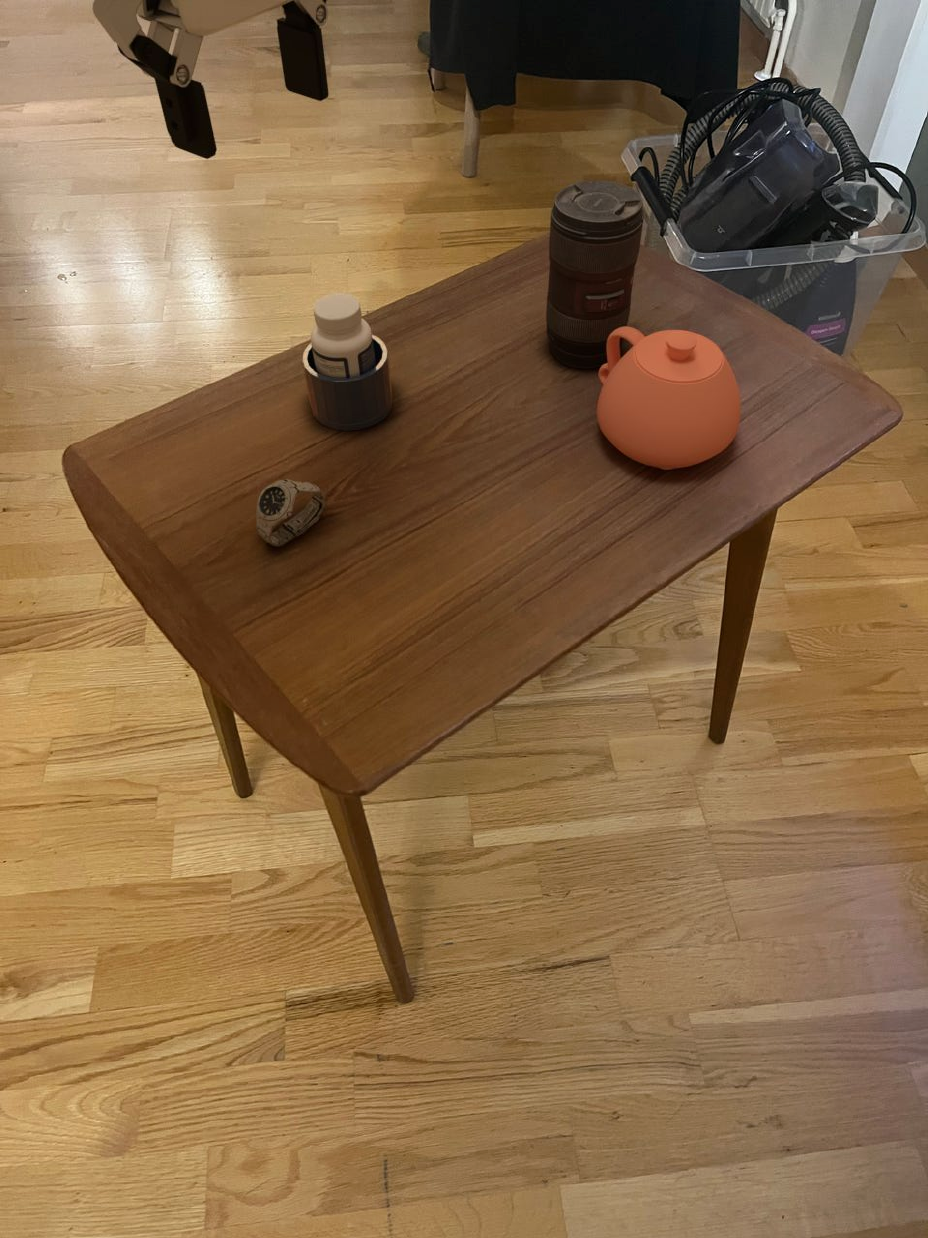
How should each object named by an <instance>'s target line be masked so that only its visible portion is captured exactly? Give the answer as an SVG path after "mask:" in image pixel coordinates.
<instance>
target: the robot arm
mask: <svg viewBox="0 0 928 1238" xmlns="http://www.w3.org/2000/svg"><path fill="white" fill-rule="evenodd" d="M327 1H328V0H94V1H93V3H92V12H93V15H94V16H95V18H96V19H97V21H98V22H99V23H100V25H101V26H102V28H103V29H104V31H105V32H106V33H107V34H108V36H109V37H110V39H111V40H112V41H113V42H114V43H116V46H117V49H118V52H119V53H120V55H122V56H123V57H124V58H126V59H127V60H129V62H130V63H133V64H134V65H135V66H137V67H138V68H139V69H141V71H142V73H143V74H144V75H146V76H148V77H150V78H153V79H154V82H155V86H156V90H157V95H158V99H159V103H160V106H161V110H162V114H163V118H164V122H165V126H166V130H167V134H168V135H169V137H170V140H171V142H172V144H173V146H174V147H175V148H177V149H179V150H182V151H184V152H187V153H189V154H192V155H195V156H198V157H200V158H203V159H206V160H209V159H210V158H213V157H215V156H216V154H217V144H216V138H215V133H214V129H213V125H212V120H211V116H210V111H209V105H208V101H207V96H206V92H205V87H204V85H203V84H202V82H200V81H197V80H195V79H193V75H194V72H195V69H196V68H195V67H196V64H197V61H198V58H199V54H200V50H201V47H202V44H203V40H204V37H208V36H212V35H214V34H216V33H220V32H222V31H224V30H228V29H230V28H233V27H235V26H237V25H239V24H241V23H242V24H243V23H245V22H247V21H249V20H251V19H254V18H256V17H259V16H261V15H263V14H266V13H268V12H271V11H273V10H275V9H277V8H278V9H279V11H280V12H281V13H282V14H283V16H284V17H279V18H278V19H276V24H277V25H276V30H277V38H278V45H279V51H280V58H281V65H282V73H283V78H284V79H283V80H284V86H285V89H286V91H288V92H291V93H294V94H297V95H299V96H302V97H306V98H309V99H313V100H315V101H318V102H322V101H324V100H326V99H328V98H329V94H330V93H329V84H328V75H327V67H326V59H325V49H324V40H323V33H322V28H321V27H322V26H324V25H325V24H326V23H327V20H328V17H329V9H328V6H327V5H326V4H327ZM138 17H139V18H140V19H142V20H145V21H146V22H150V23H149V26H148V30H147V34H146V33H145V32H144V31H143V30H142V29H143V27H142V26H141V24H140V22H139V21H138ZM175 33H176V34H177V35H176V39H175V43H174V46H173V50H172V53H171V52H170V49H171V45H172V41H173V38H174V34H175Z"/></svg>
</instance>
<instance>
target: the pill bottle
mask: <svg viewBox="0 0 928 1238" xmlns="http://www.w3.org/2000/svg"><path fill="white" fill-rule="evenodd" d="M361 308H362V307H361V303H360V300H359V299H358V298H357V297H356V296H355V295H353V294H350V293H344V292H335V293H334V292H333V293H329V294H325V295H324V296H322V297H320V298H318V299H317V301H315V303H314V305H313V315H314V322H315V324H314V326H313V327H312V329H311V332H310V343H311V344H312V350H313V355H314V361H315V366H316V371H317V373H319V374H321V375H323V376H326V377H331V378H351V377H356V376H360V375H362V374H365V373H367V372H369V371H371V370H372V369H373V368H375V367H376V360H375V352H374V345H373V337H372V335H373V332H372V329H371V326H370V325H369V323H368V322H367V321H366V320H365V319H364V318H362V316H363V315H362V314H363V313H362V309H361Z"/></svg>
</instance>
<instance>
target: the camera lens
mask: <svg viewBox="0 0 928 1238" xmlns="http://www.w3.org/2000/svg"><path fill="white" fill-rule="evenodd" d="M643 203H644V202H643V198H642V196H641V195H640V193H639V192H638V191H636V190H635V189H634V188H631V187H630V186H627V185H625V184H623V183H619V182H614V181H611V180H586V181H585V180H584V181H579V182H575V183H573V184H570V185H567V186H565V187H563V188H562V189H561V190H559V191H558V192H557V193H556V195H555V197H554V201H553V206H552V207H551V210H550V223H549V224H550V225H549V240H548V260H549V272H548V284H547V285H548V287H547V294H546V307H545V308H546V310H545V322H546V336H547V339H548V340H549V350H550V352H551V354H552V355H553V357H554V358H555V359H556V360H557V361H558V362H560V363H562V364H564V365H566V366H568V367H573V368H576V369H577V368H578V369H594V368H598V367H601V366H602V365H603V364H606V363H608V360H607V340H608V337H609V335H610V334H611V333H612V332H613V331H614V330H615V329H617V328H620V327H625V326H628V323H629V319H630V314H631V305H632V293H633V286H634V285H633V284H634V278H635V270H636V269H635V268H636V265H637V261H638V258H639V254H640V248H641V240H642V234H643V225H644V221H645V220H644V219H645V212H644V209H643ZM624 340H625V339H624V338H621V337H620V341H619V346H620V345H621V344H623V341H624Z"/></svg>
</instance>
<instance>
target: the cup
mask: <svg viewBox="0 0 928 1238" xmlns="http://www.w3.org/2000/svg"><path fill="white" fill-rule="evenodd" d="M372 337H373V345H374V352H375V360H376V367H375V368H373V369H372V370H371V371H369V372H367V373H365V374H362V375H360V376H356V377H351V378H331V377H326V376H323V375H321V374H319V373H317V371H316V366H315V361H314V355H313V350H312V344H311V342H310V343H309V344H307V346H306V348H304V350H303V353H302V357H301V362H302V368H303V373H304V378H305V385H306V388H307V393H308V400H309V404H310V409H311V413H312V415H313V417H314V418H315V419H316V420H317V421H318V422H319V423H320V424H321V425H322V426H325V427H327V428H329V429H332V430H337V431H343V432H351V431H359V430H365V429H368V428H371V427H373V426H375V425H377V424H379V423H380V422H382V421H383V420H384V419H385V418H386V417H387V416H388V415H389V414H390V412H391V410H392V407H393V405H394V404H393V403H394V401H393V387H392V378H391V367H390V357H389V349H388V347H387V346H386V343H385V342H384V341H383V340H382V339H380V338H379V337H378V336H377V335H375V334H372Z"/></svg>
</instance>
